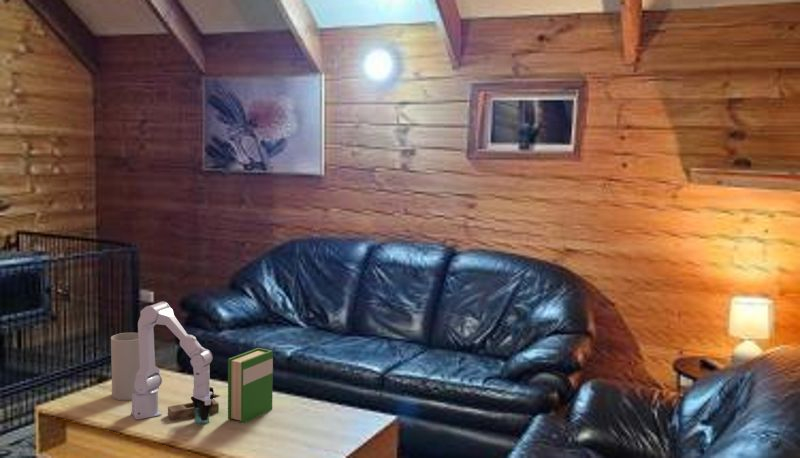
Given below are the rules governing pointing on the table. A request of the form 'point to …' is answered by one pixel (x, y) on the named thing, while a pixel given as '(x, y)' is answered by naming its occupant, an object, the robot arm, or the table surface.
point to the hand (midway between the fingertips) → (201, 417)
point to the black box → (213, 393)
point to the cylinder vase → (124, 364)
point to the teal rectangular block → (197, 417)
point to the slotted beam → (188, 410)
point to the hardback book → (250, 384)
